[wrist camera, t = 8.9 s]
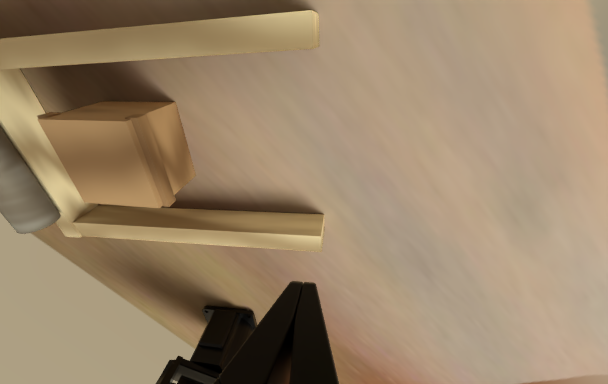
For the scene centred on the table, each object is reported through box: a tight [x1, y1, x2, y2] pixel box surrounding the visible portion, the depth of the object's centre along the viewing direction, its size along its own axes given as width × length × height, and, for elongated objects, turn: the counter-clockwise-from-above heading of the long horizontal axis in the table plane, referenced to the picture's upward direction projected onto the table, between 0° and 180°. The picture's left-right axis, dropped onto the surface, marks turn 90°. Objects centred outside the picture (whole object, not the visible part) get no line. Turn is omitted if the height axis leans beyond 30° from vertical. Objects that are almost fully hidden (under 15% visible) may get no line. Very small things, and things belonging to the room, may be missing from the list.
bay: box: [0, 10, 325, 252], centre depth 18 cm, size 16×25×7 cm, turn 94°
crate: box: [37, 101, 196, 208], centre depth 19 cm, size 6×7×5 cm
